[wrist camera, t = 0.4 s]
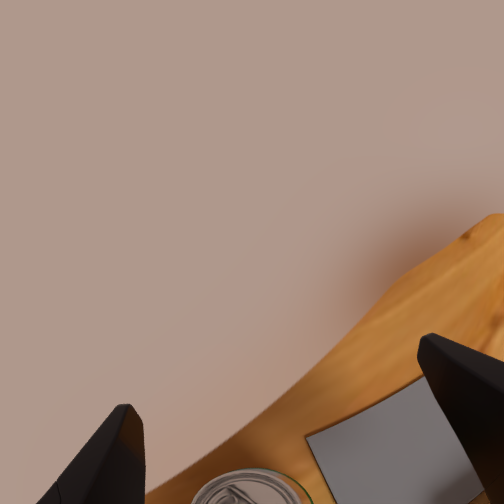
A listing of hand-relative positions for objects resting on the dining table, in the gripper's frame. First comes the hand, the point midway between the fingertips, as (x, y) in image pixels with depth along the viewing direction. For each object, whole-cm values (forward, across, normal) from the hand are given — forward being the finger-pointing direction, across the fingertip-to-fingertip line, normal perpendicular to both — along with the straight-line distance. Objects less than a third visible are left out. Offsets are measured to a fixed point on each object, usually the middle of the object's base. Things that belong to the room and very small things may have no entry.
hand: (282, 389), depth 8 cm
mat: (+2, -8, +15) cm, 18 cm away
